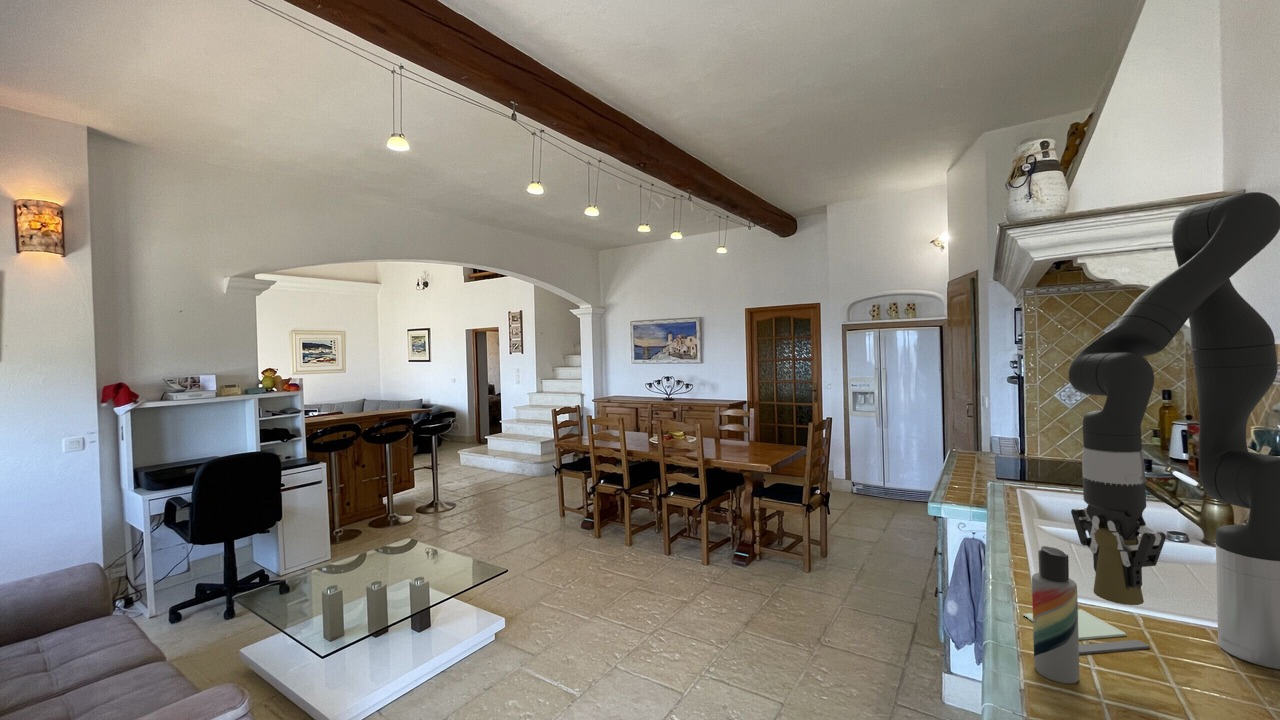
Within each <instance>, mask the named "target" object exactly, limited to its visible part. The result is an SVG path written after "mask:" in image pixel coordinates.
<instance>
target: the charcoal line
mask: <svg viewBox="0 0 1280 720" xmlns="http://www.w3.org/2000/svg"><path fill="white" fill-rule="evenodd" d="M1150 648H1151V646H1150V645H1149V644H1147V643H1145V642H1143V641H1141V640H1139V639H1131V640H1120V641H1118V640H1117V641H1107V642H1096V643H1095V642H1094V643H1085V644H1084V643H1083V644H1079V656H1080V655H1089V654H1090V655H1091V654H1100V653H1101V654H1103V653H1112V652H1124V651H1126V652H1127V651H1137V650H1146V649H1150Z"/></svg>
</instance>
